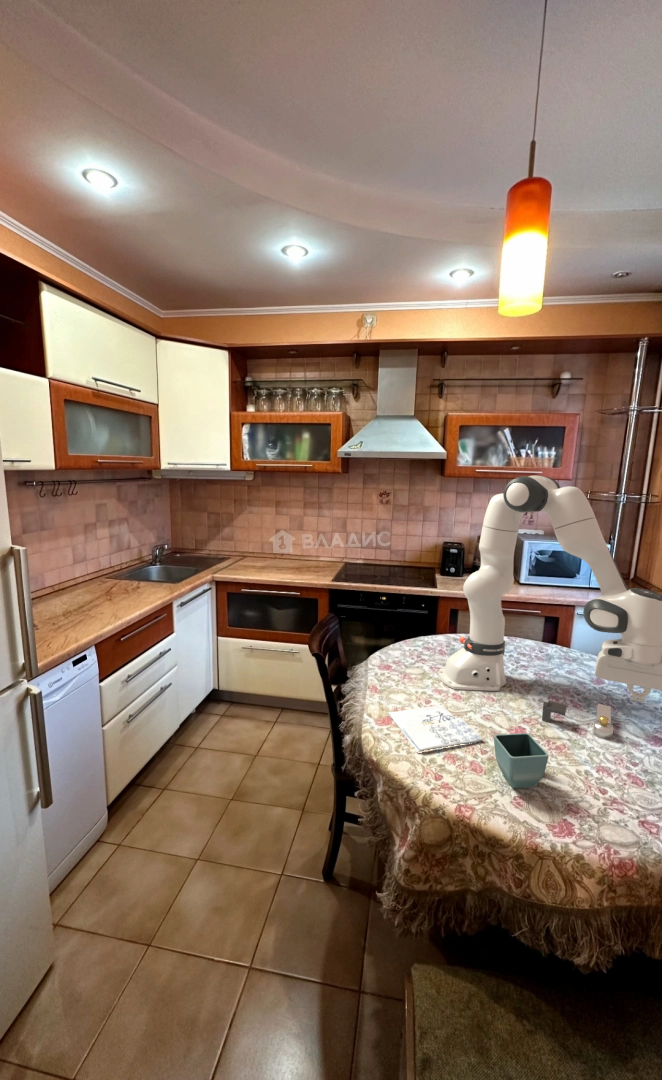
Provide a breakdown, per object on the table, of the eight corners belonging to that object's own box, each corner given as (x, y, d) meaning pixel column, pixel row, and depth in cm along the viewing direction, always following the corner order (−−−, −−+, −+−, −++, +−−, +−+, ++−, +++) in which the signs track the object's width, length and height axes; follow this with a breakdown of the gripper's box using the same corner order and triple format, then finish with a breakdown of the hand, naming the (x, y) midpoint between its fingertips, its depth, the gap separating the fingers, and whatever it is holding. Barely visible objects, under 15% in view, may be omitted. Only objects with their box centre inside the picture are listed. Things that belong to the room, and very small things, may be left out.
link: (612, 741, 113) (613, 731, 112) (592, 736, 115) (593, 726, 115) (612, 716, 125) (613, 707, 124) (594, 712, 127) (595, 703, 127)
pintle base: (620, 759, 108) (623, 736, 107) (536, 735, 118) (538, 714, 117) (619, 725, 123) (621, 704, 122) (544, 706, 133) (546, 687, 132)
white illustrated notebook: (417, 757, 109) (418, 749, 109) (386, 715, 128) (386, 708, 128) (484, 745, 114) (484, 737, 114) (444, 706, 134) (444, 699, 133)
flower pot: (490, 769, 104) (492, 734, 103) (525, 767, 105) (528, 732, 103) (508, 795, 95) (510, 757, 94) (546, 793, 96) (549, 755, 95)
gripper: (690, 654, 112) (685, 705, 113) (597, 640, 122) (593, 687, 124) (694, 663, 106) (689, 716, 108) (596, 647, 117) (593, 696, 119)
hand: (637, 700), depth 116 cm, fingers closed
